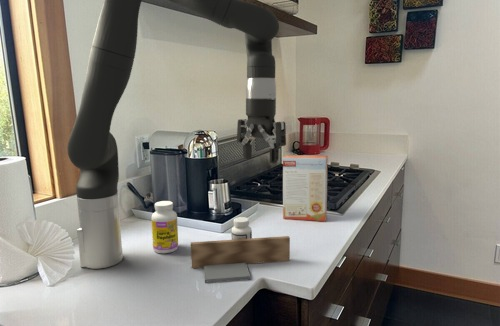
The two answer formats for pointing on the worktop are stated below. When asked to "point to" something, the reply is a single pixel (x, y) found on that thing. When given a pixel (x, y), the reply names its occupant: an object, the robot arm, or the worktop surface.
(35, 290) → the worktop surface
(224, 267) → the grey pad
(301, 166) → the cracker box
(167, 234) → the supplement bottle
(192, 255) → the walnut screen
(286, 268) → the worktop surface
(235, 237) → the pill bottle
